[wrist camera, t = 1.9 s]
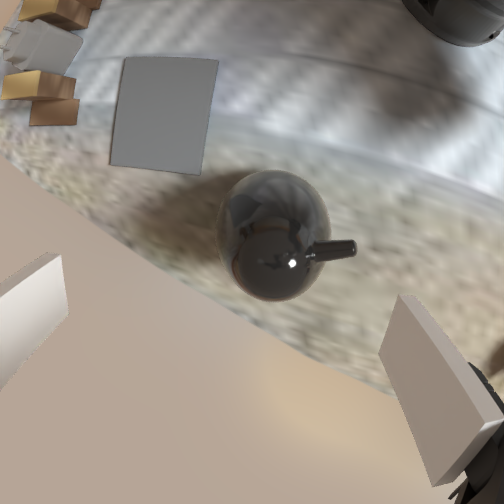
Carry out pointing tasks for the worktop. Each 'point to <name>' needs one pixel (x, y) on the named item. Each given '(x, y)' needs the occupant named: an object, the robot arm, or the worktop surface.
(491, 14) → the robot arm
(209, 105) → the mat
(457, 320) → the worktop surface
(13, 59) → the power adapter
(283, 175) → the pump dispenser
